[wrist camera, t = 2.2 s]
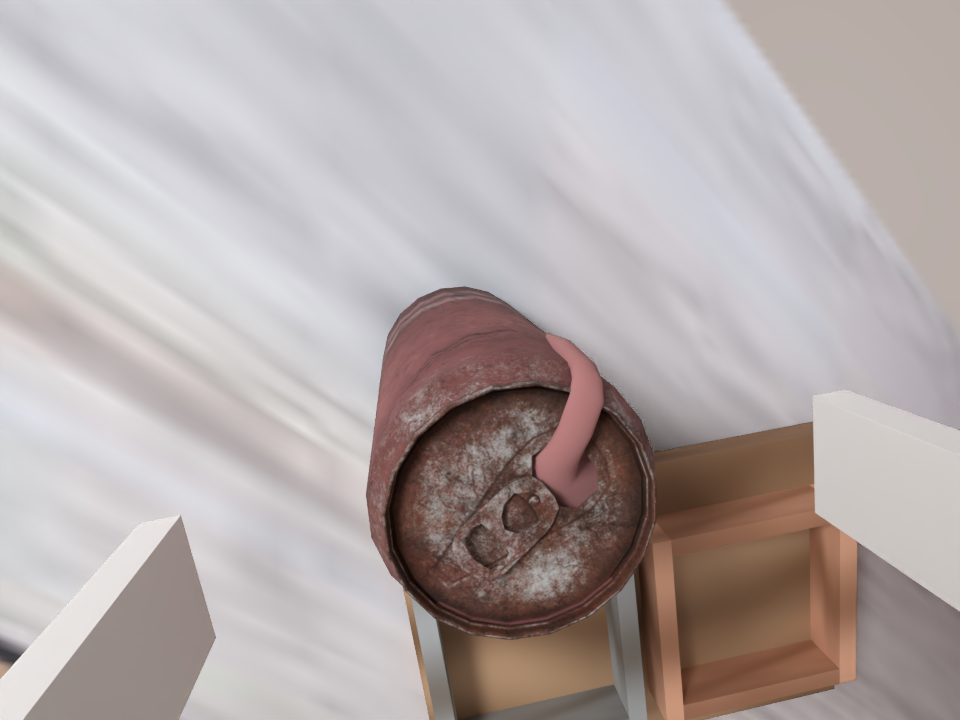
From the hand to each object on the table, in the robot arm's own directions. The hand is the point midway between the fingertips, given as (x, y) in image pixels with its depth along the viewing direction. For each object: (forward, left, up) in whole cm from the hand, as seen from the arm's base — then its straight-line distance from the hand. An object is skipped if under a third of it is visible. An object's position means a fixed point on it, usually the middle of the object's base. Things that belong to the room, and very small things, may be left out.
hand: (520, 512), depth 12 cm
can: (0, 0, -13) cm, 13 cm away
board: (+13, +6, -13) cm, 19 cm away
